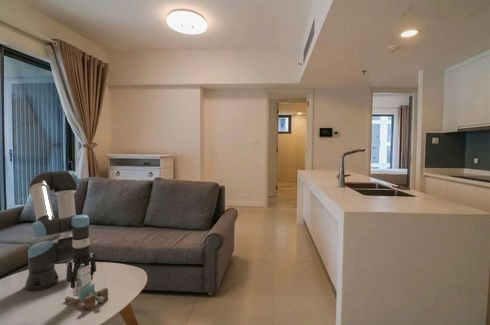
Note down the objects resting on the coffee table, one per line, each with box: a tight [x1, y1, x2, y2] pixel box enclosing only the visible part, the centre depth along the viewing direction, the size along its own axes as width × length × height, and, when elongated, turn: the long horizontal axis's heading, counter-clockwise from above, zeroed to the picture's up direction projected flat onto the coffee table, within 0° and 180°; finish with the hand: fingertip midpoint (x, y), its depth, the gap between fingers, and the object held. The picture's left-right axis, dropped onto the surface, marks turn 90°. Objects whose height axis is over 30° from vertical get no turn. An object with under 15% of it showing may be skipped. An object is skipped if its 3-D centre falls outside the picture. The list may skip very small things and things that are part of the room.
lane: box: [64, 287, 109, 312], centre depth 137 cm, size 18×11×6 cm, turn 62°
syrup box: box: [73, 264, 92, 297], centre depth 138 cm, size 6×6×14 cm
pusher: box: [78, 283, 104, 303], centre depth 134 cm, size 13×7×7 cm, turn 62°
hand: (82, 290), depth 138 cm, fingers closed on syrup box, 7 cm apart
